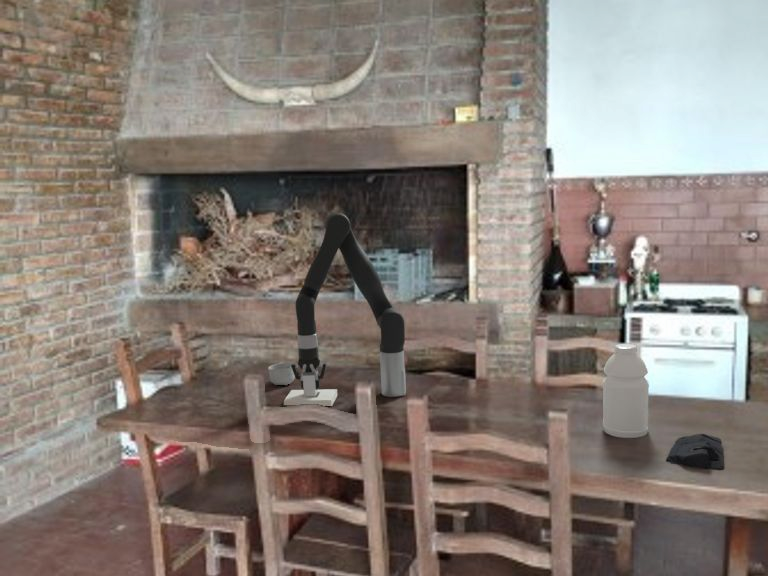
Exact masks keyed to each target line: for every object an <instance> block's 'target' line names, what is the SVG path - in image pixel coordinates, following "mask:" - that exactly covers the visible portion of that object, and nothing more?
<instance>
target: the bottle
mask: <svg viewBox="0 0 768 576" xmlns="http://www.w3.org/2000/svg"><path fill="white" fill-rule="evenodd" d="M614 352H615V353H613V354H612V355H611V356H610V357H609V358H608V360H607V361H606V363H605V364H604V368H603V372H604V374H605V375H606V377H605V378H604V379H603V380H602V402H603V403H602V411H603V412H602V413H603V414H602V416H603V417H602V418H603V420H602V429H603V432H604V433H605V434H607V435H609V436H612V437H615V438H622V439H634V438H635V439H637V438H642V437H645V436H646V435H647V434H648V433H649V391H650V390H649V385H650V384H649V380H647V379H646V378H645V376H647V374H649V372H648V368H647V365H646V363H645V362H644V360H643V359H642V358H641V356H640V355H639V354H637V352H638V349H637V345H635V344H632V343H618V344H615V346H614Z"/></svg>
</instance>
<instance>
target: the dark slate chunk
mask: <svg viewBox="0 0 768 576" xmlns="http://www.w3.org/2000/svg"><path fill="white" fill-rule="evenodd" d="M722 444H723V441H722V440H721V438H720V437H717V436H716V437H715V436H712V435H709V434H705V433H699V434H692V435H689V436H688V435H686V436H681V437H678V438H677V439H676V440H675V441H674V444H673V445H672V447H671V448H670V451H669V452H668V456H667V457H666V459H665V461H666V462H668V463H670V464H671V465H677V466H678V465H679V466H685V467H688V468H694V469H701V470H707V469H709V470H715V469H716V470H722V469H723V468H724V464H725V463H724V457H723V455H724V449H723V446H722Z"/></svg>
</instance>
